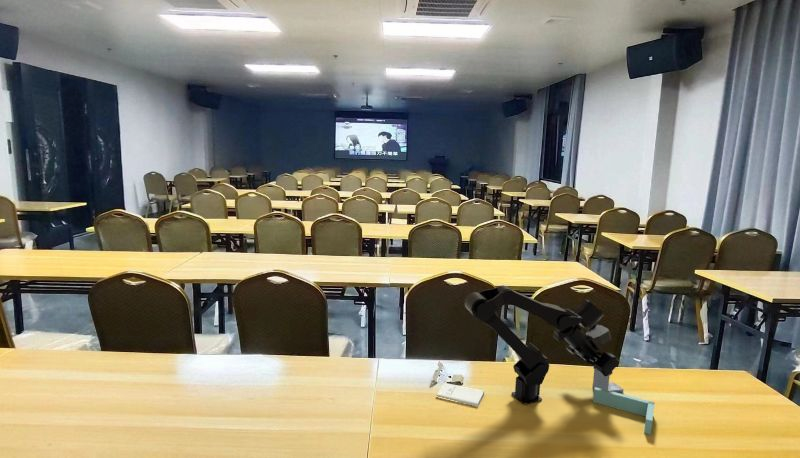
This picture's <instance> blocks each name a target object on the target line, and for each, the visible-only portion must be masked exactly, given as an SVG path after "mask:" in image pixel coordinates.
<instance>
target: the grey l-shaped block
mask: <svg viewBox="0 0 800 458" xmlns="http://www.w3.org/2000/svg"><path fill="white" fill-rule="evenodd" d="M595 360H596V359H595ZM595 362H596V361H595ZM593 369H594V368H593ZM610 376H611V375H608V376H603V375H602V374H601V373H599V372H598V371H596V370H595V369H594V370H593V377H592V379H593V380H592V389H594V388H595V387H597V388H601V389H604V390H608V391H612V392H616V393H620V394H623V393H624V388H623V387H621V386H619V384H617V383H616V382H614V381H613V382H610Z"/></svg>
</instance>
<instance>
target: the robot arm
mask: <svg viewBox="0 0 800 458" xmlns="http://www.w3.org/2000/svg"><path fill="white" fill-rule="evenodd" d="M507 304H510V305H512V306H514V307H516V308H519V309H521V310H523V311H525V312H528V313H530V314H532V315H533V316H537V317H539V318H540V319H542V320H543V321H545V322H546V323H548V324H549V325H551V326H552V327H553V328H554V330H553V331H554V333H553V338H554V339H555V340H557V341H558V342H559V343H560V342H561V343H562V341H563V340H565V348H566V350H567V351H568V352H569V353H570V354H572V355H575V357H576V358H578V359H580V360H581V361H584V362H585V363H587V364H590V365H592V366H593V369H595V370H596V371H598V372H599V373H601V374H602V375H603V376H608V375H610V376H612V375H613V371H614V370H615V369H616V367H618V365H620V362H621V361H620V359H619V358H618V357H617V356H615V355H614V354H613V353H612V352H611V353H610V352H609V351H602V352H600V350H601V349H602V348H603V347H602V346H601V345H604V344H606V343H607V342H611V340H612V335H611V332H610V330H609V328H607V327H605V326H603V325H601V324H597V322H599V321H600V320H601V319H602V318H603V317H604V316H605V315H604V312H603V311H602V310H601V309H599V308H598V307H597V306H596V305H594V303H592V302H591V301H590V300H588V299H584V301H582V303H581V304H580V305H579V306H578V307H577V309H575V310H574V311H572V310H571V309H569V308H562V307H560V306H559V305H557V304H553V303H552V304H551V303H548V302H540V301H538V300H536V299H534V298H531V297H529V296H527V295H526V294H525V295H524V294H522V293H520V292H518V291H515V290H513V289H511V288H510V287H508V286H506V285H503V284H502V285H499V286H496V287H493V288H488V289H483V290H480V291H478V292H477V291H476V292H475V291H473V292H471V293H469V294H467V296H466V297H465V298H464V306H465V308H466V310H468V311H469V313H470V314H471V315H472V316H473V317H475V318H476V319H477V320H479V321H480V322H482V323H483V324H486V325H487V326H488V327H490V328H491V329H492V330H493V331H494V333H496V334H497V335H498V337H500V338H501V339H502V341H504V342H505V343H506V345H508V346H509V347H510V348H511V350H513V351H514V352H515V355H516V356H517V358H518V360H517V362H516V363H515V364H514V365H513V366H512V367H513V371H514V373H515V374H517V375H518V376H516V377H515V386H514V388H515V389H514V391H512V392H511V395H512V396H513V397H514V398H515V399H517V400H518V401H519V402H520V403H522V404H523V405H529V404H533V403H537V402H541V401H542V400H543V398H542V397H541V396H540V392H541V390H540V388H541V385H542V384H543V382H544V380H545V377H546V375H547V374H548V372H549V370H550V363H549V362H548V361H549V359H548V357H547V356H546V355H544V354H543V353H542V352H541V350H539V349H538V347H536V346H535V345H534V344H533V343H532V342H529V343H528V345H526V344H525V343H524V342H523V341H522V340H521V339H520V338H519V337H518V336H517V335H516V333H515V332H514V331H513V330H512V329H510V327H509V326H508V325H506V323H504V321H503V320H502V319H501V318H500V316H498V314H497V311H498V310H500V309H502V307H504V306H505V305H507ZM581 327H582V328H583V329H585V330H586V332H585V331H584V330H583V329H582V328H581ZM595 359H596V360H595ZM595 361H596V362H595Z"/></svg>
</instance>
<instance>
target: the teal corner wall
mask: <svg viewBox="0 0 800 458" xmlns="http://www.w3.org/2000/svg"><path fill="white" fill-rule="evenodd" d="M592 402H593V403H596V404H599V405H602V406H603V405H604V406H606V407H611V408H614V409H618V410H620V411H621V410H622V411H625V412H628V413H632V414H636V415H639V416H643V417H645V424H644V431H643V433H644V434H646V435H650V436H651V435H652V427H653V419H654V409H655V402H654V401H651V400H647V399H643V398H639V397H635V396H631V395H627V394H624V393H616V392H612V391H608V390H604V389H601V388H597V387H595V388H593V397H592Z"/></svg>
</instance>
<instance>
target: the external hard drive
mask: <svg viewBox="0 0 800 458" xmlns="http://www.w3.org/2000/svg"><path fill="white" fill-rule="evenodd" d="M436 396H438V397H442V398H446V399H450V400H454V401H457V402H460V403H459V404H461V403H465V404H464V405H466V404H469V405H468V406H470V405H472V406H471V407H474V406H476V407H475V408H479V405H480V404H481V402H482V401H483V398H484V396H485V391H484V390H481V389H475V388H471V387H466V386H463V385H462V386H461V385H457V384H452V383H445V382H444V383H443V384H442V386H441V387H440V389H439V390H438V391H437V393H436ZM457 402H456V403H457Z"/></svg>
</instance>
